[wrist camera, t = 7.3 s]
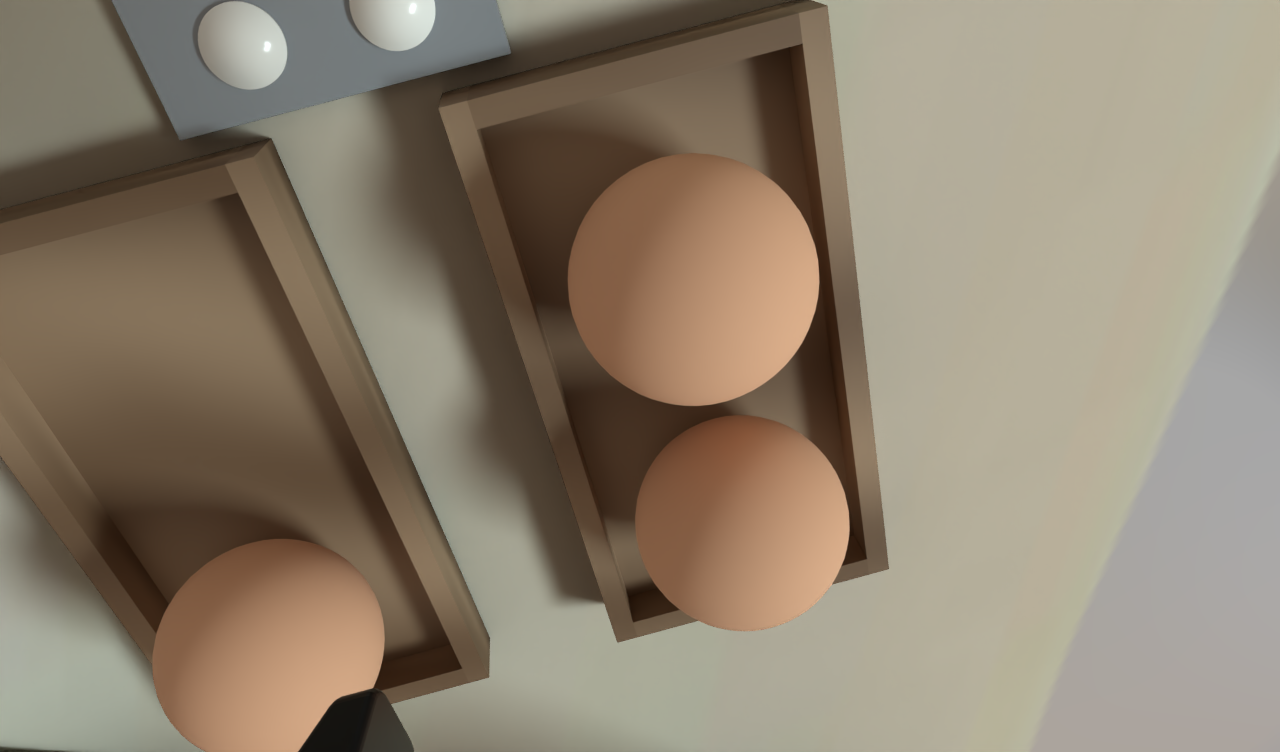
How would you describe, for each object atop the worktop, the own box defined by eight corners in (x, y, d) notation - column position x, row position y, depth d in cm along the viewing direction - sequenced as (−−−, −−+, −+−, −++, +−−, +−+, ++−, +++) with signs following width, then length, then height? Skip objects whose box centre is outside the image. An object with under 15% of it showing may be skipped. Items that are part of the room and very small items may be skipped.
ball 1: (422, 617, 21) (404, 777, 17) (244, 665, 21) (188, 836, 17) (351, 474, 19) (314, 620, 15) (154, 527, 19) (66, 687, 15)
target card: (511, 51, 16) (511, 53, 15) (186, 136, 16) (177, 142, 15) (468, -98, 15) (468, -98, 14) (117, -6, 15) (107, -3, 14)
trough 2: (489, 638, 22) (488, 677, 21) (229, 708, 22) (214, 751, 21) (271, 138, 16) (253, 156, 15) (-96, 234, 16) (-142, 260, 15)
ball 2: (789, 307, 19) (870, 412, 15) (588, 364, 18) (618, 484, 15) (757, 100, 16) (843, 160, 13) (530, 162, 16) (547, 241, 12)
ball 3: (821, 510, 21) (891, 644, 17) (646, 557, 21) (678, 702, 17) (798, 355, 19) (871, 469, 15) (602, 407, 19) (627, 536, 15)
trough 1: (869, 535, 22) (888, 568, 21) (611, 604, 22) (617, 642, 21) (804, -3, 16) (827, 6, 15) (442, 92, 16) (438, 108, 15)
